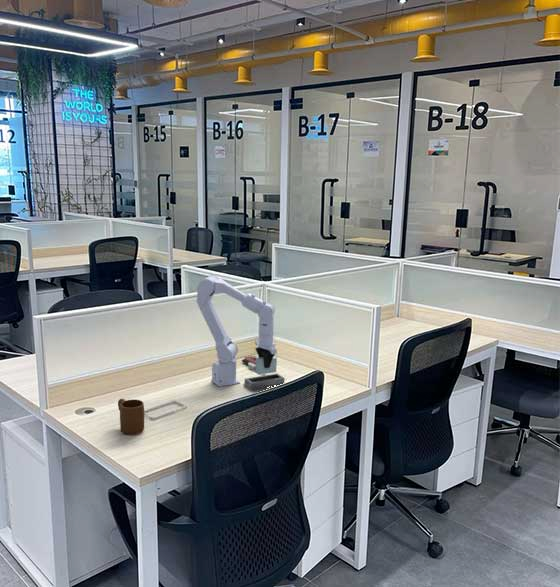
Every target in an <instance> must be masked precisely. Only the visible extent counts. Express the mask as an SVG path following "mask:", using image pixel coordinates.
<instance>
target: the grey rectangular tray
mask: <svg viewBox="0 0 560 587" xmlns="http://www.w3.org/2000/svg"><path fill="white" fill-rule="evenodd" d="M283 383H284V384H285V377H284V376H282V375H281V374H279V373H270V374H263V375H259V376H253V377H246V378H244V383H243V386H244V387H245V388H247V390H249V391H250V392H258V390H259V391H262V389H263V390H268V389H267V387H269V386H270V387H269V388H270V389H272V388H271V386H272V387H274V385H276V386H277V385H280V384H283Z"/></svg>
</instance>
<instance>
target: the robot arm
mask: <svg viewBox="0 0 560 587" xmlns="http://www.w3.org/2000/svg"><path fill="white" fill-rule="evenodd" d="M196 291H197V294H196V303H197V306H198V308H199V310H200V313H201V315H202V316H203V318H204V321H205V322H206V325H207V326H208V329H209V332H210V333H211V335H212V337H213V340H214V341H215V350H216V358H217V359H218V361H216V362H213V363H212V366H211V380H210V381H211V382H212V383H214V384H215V385H216V386H218V387H225V386H231V385H237V384H240V383H241V382H240V381H239V380H238V379H237V358H236V355H237V354H238V352H239V348H238V346H237V344H235V342H233V341H232V338H231V337H229V336H228V334H227V333H226V331H225V328H224V326H223V324H222V322H221V320H220V317H219V316H218V314H217V311H216V309H215V307H214V305H213V303H212V299H213V297H214V294H221V293H222V294H225V295H227V296H229V297H231V298H233V299H235V300H237V301H239V302H240V303H241V306H242V307H243V308H245V309H247V310H249V311H251V312H252V313H254V314H256V315H257V316H258V318H259V322H258V339H255V343H254V344H255V345H256V346H257V347H255V351H256V353H257V357H259V358H260V357H263V359H264V367H265V368H270V365H271V362H272V359H273V357H275V355H277V354H278V353H277V351H278V349H277V348H276V343H274V316H273V315H274V314H275V312H276V309H275V306H274V305H273V303H271V302H269V301H268V302H266V300H262V299H260V298H259V297H257V296H256V294H254V293H247V294H246V293H244V292H242V291H240V290H239V289H237V288H236V287H234V286H233V285H232V284H230V283H228V282H226V281H225V280H224V279H222V278H220V277H218V276H216V275H212V274H211V275H209V276H207V277H206V278H203V279H201V280H200V282H198V285H197V287H196Z"/></svg>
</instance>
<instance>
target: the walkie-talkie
mask: <svg viewBox="0 0 560 587" xmlns="http://www.w3.org/2000/svg"><path fill="white" fill-rule="evenodd" d="M243 358H244V359H241V362H242V363H246V364H248V365H247V366H248V369H249V368H250V370H252V371H253V370H254V371H255V365H256V358H259V357H258V356H256V355H248V356H245V357H243ZM246 364H245V365H246Z"/></svg>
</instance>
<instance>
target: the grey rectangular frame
mask: <svg viewBox="0 0 560 587" xmlns="http://www.w3.org/2000/svg"><path fill="white" fill-rule="evenodd" d="M171 404H177V405H179V406H181V407H179V408H178V407H177V408H175V409H173V410H169V411H166V412H164V413H161V414H158V415H155V416H152V415H150V414H148V412H151V411H154V410H157V409H160V408H162V407H166V406H168V405H171ZM187 407H188V405H187V404H185V403H182V402H181V401H178V400H175V399H174V400H171V401H168V402H165V403H161V404H159V405H156V406H153V407H150V408H147V409H144V416H145V415H146V416H148V417H149V418H150V419H151V420H152V419H154V420H157V418H158V419H160V418H163V417H166V416H169V415H171V414H174V413H175V411H178V410H182V409H183V410H185V409H187ZM153 409H154V410H153Z"/></svg>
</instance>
